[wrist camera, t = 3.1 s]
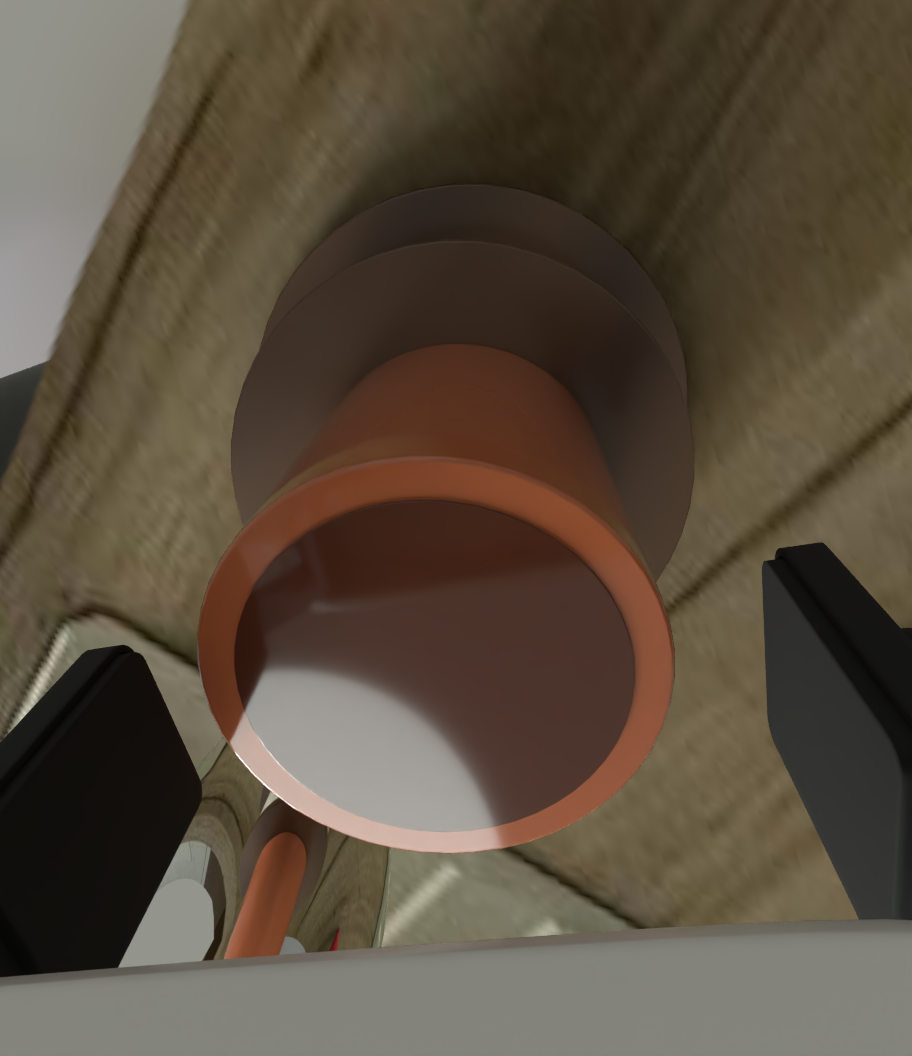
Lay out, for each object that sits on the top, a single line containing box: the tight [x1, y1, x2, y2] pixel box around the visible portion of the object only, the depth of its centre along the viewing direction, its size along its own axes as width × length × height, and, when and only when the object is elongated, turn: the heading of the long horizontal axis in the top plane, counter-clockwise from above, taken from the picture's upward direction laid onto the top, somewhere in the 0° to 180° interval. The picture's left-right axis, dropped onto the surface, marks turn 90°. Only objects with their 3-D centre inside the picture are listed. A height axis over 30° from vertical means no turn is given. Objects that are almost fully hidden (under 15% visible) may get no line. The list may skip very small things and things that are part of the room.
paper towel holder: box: [231, 184, 694, 582], centre depth 21 cm, size 14×14×7 cm
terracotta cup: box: [197, 344, 675, 854], centre depth 14 cm, size 7×7×8 cm
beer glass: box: [118, 737, 391, 968], centre depth 22 cm, size 7×7×15 cm
